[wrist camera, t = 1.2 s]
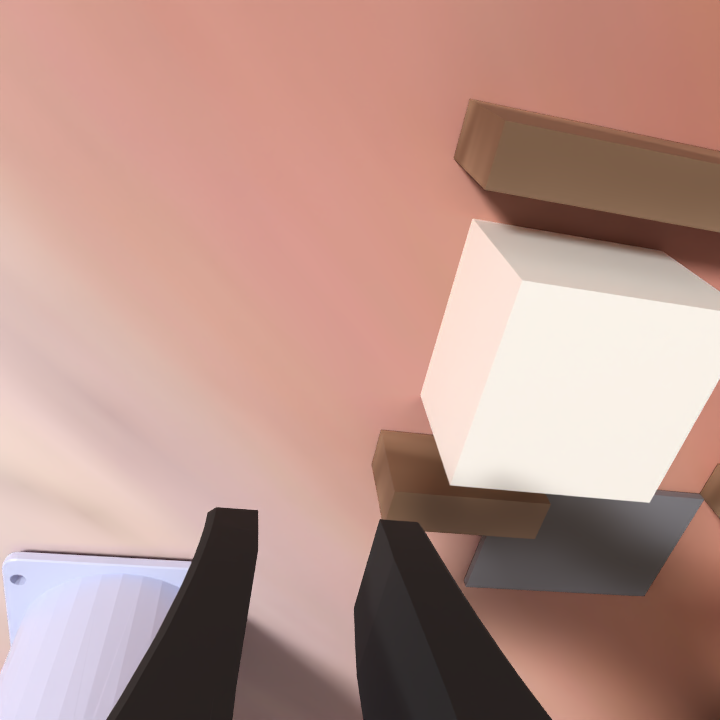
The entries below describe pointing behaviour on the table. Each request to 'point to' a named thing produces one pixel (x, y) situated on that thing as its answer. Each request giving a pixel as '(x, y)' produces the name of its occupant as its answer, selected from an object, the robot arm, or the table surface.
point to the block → (569, 364)
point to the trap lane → (538, 510)
